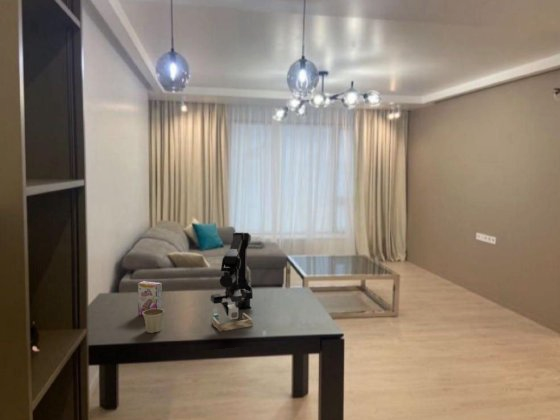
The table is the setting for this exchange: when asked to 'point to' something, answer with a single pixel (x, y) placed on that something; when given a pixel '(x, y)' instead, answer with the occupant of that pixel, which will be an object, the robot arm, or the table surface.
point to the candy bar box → (149, 296)
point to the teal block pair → (215, 316)
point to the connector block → (232, 311)
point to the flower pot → (153, 319)
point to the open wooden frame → (233, 323)
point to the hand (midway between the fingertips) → (231, 314)
